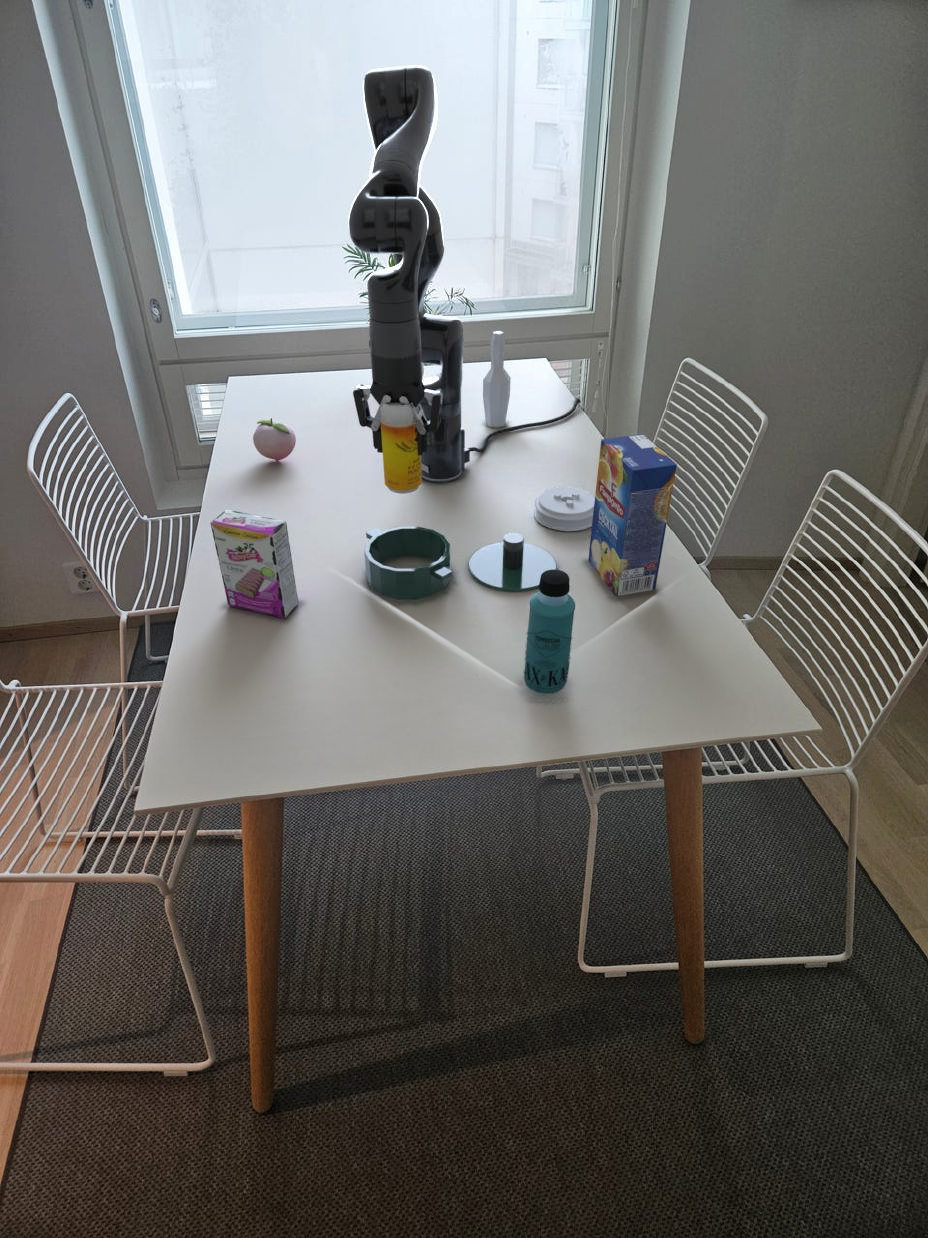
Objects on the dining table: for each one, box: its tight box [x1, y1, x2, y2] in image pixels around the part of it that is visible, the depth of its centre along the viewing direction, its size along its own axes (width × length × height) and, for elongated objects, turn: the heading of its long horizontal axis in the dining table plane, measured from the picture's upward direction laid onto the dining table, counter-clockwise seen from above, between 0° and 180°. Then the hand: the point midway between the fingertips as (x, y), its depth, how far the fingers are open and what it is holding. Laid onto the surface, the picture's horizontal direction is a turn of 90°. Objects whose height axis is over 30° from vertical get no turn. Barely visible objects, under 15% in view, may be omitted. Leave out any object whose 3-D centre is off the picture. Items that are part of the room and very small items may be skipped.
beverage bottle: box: [522, 569, 576, 695], centre depth 113 cm, size 6×7×20 cm
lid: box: [533, 486, 595, 532], centre depth 157 cm, size 13×13×5 cm
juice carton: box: [587, 433, 678, 597], centre depth 135 cm, size 12×8×24 cm, turn 16°
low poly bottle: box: [482, 330, 511, 429], centre depth 190 cm, size 6×6×22 cm
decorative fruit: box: [252, 417, 297, 462], centre depth 177 cm, size 9×8×10 cm
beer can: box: [380, 403, 423, 495], centre depth 127 cm, size 6×6×15 cm
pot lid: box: [468, 532, 557, 593], centre depth 142 cm, size 16×16×7 cm
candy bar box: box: [209, 508, 299, 619], centre depth 130 cm, size 11×5×16 cm, turn 71°
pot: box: [364, 526, 454, 601], centre depth 140 cm, size 15×20×6 cm
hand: (401, 451), depth 128 cm, fingers closed on beer can, 6 cm apart
